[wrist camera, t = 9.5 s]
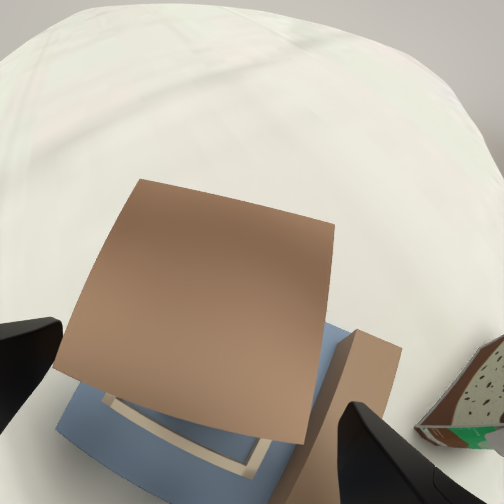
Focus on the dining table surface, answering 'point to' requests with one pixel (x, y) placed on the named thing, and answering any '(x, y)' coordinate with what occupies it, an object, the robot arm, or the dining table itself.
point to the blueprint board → (236, 436)
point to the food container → (471, 405)
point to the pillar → (206, 311)
